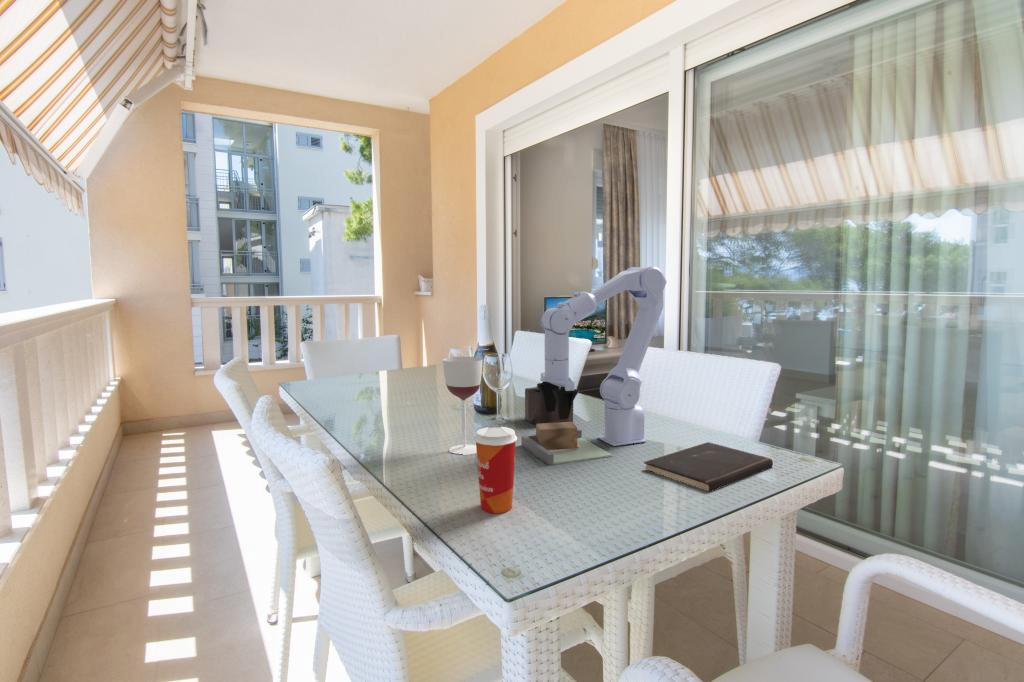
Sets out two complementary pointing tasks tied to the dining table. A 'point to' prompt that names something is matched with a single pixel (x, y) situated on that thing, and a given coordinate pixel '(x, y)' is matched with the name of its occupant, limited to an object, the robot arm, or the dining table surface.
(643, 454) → the dining table surface
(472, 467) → the dining table surface
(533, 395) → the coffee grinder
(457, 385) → the wineglass
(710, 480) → the hardcover book
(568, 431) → the walnut block
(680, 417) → the dining table surface
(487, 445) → the paper cup
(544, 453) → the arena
